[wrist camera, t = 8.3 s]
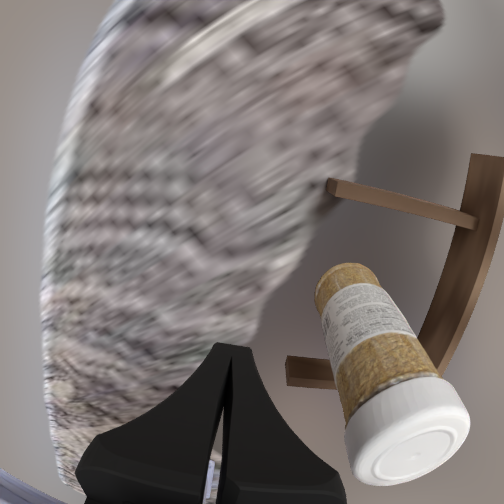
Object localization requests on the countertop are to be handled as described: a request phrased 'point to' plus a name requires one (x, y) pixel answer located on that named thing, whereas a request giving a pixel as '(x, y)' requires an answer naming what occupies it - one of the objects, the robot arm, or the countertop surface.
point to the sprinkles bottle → (385, 382)
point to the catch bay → (455, 269)
